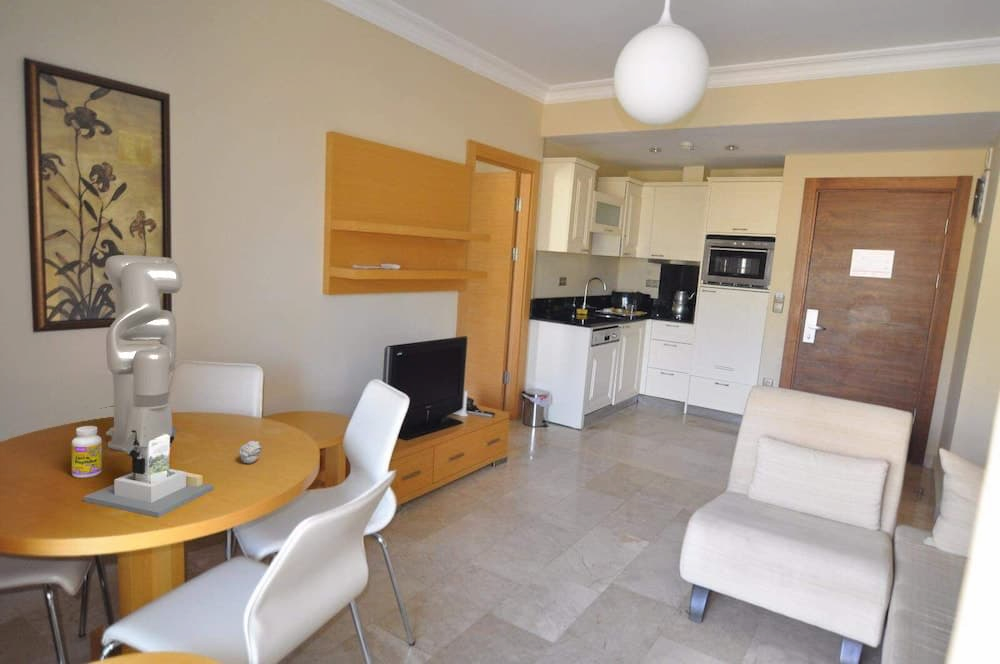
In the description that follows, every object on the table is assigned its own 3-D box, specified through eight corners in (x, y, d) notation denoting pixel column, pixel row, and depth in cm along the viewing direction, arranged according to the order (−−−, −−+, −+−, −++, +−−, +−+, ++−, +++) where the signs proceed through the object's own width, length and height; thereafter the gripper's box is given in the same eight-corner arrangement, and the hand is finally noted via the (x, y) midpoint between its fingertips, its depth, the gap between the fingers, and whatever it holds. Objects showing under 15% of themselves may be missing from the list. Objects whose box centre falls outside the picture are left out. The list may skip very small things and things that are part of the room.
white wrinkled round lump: (250, 468, 171) (250, 445, 170) (233, 463, 174) (233, 440, 173) (266, 462, 177) (267, 440, 176) (249, 457, 180) (250, 435, 179)
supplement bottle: (69, 480, 154) (68, 432, 153) (74, 471, 160) (73, 425, 159) (100, 477, 158) (99, 431, 156) (103, 468, 163) (103, 423, 162)
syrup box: (154, 484, 153) (154, 430, 151) (169, 489, 151) (170, 434, 149) (132, 491, 148) (132, 435, 146) (148, 496, 145) (148, 439, 144)
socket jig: (83, 501, 143) (83, 480, 142) (144, 476, 160) (144, 457, 160) (158, 517, 138) (158, 496, 137) (213, 489, 155) (213, 470, 155)
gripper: (166, 390, 155) (166, 455, 158) (107, 405, 139) (108, 477, 141) (190, 394, 153) (189, 459, 156) (133, 409, 137) (134, 482, 139)
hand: (151, 467), depth 148 cm, fingers open, 6 cm apart
